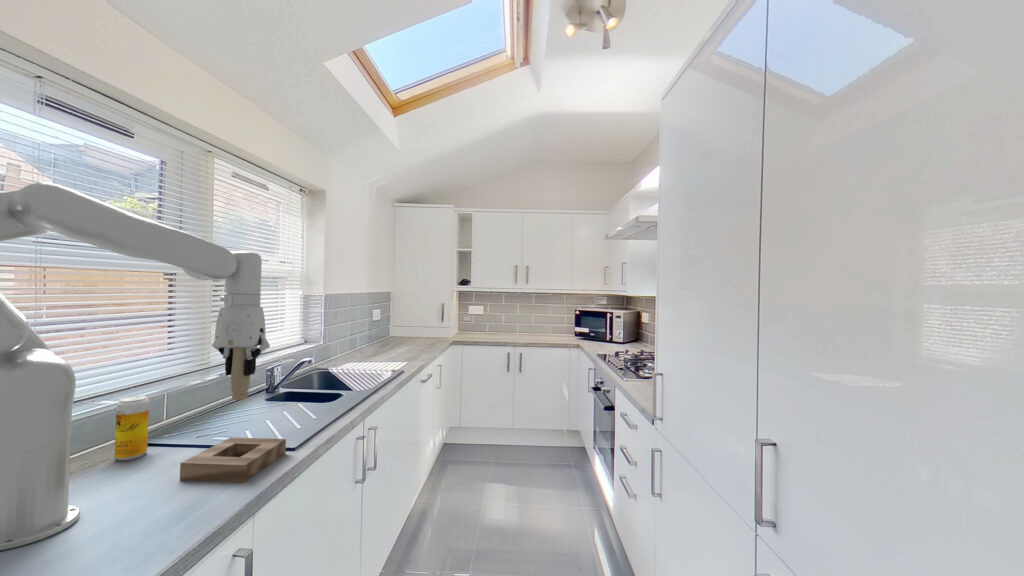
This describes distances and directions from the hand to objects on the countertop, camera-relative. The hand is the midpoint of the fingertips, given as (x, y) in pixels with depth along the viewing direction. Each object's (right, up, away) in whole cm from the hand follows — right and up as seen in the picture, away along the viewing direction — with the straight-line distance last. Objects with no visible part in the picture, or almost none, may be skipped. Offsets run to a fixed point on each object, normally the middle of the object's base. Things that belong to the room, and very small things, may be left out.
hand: (240, 373), depth 99 cm
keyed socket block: (-1, -23, 0) cm, 23 cm away
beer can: (-31, -22, +4) cm, 38 cm away
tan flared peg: (0, -6, 0) cm, 6 cm away
